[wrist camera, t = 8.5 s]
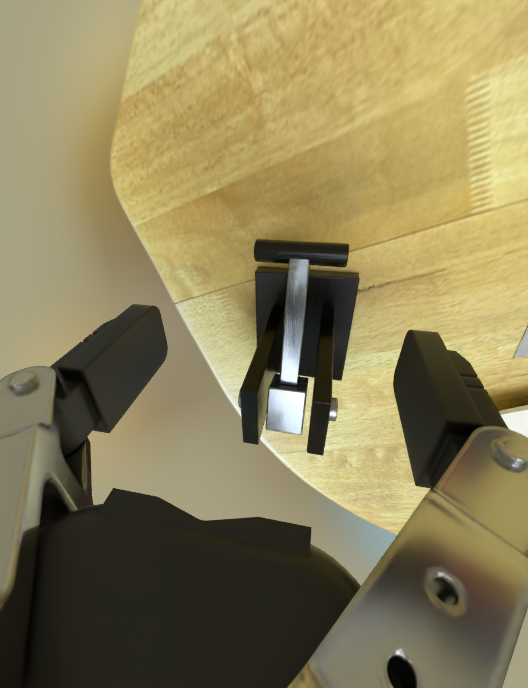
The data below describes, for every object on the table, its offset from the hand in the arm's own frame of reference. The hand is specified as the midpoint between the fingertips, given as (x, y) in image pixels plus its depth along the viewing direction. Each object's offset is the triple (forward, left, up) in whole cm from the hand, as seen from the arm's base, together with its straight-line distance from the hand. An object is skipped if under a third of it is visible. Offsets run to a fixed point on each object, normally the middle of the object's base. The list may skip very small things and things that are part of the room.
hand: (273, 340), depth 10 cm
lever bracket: (0, -8, -16) cm, 18 cm away
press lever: (0, -5, -8) cm, 9 cm away
